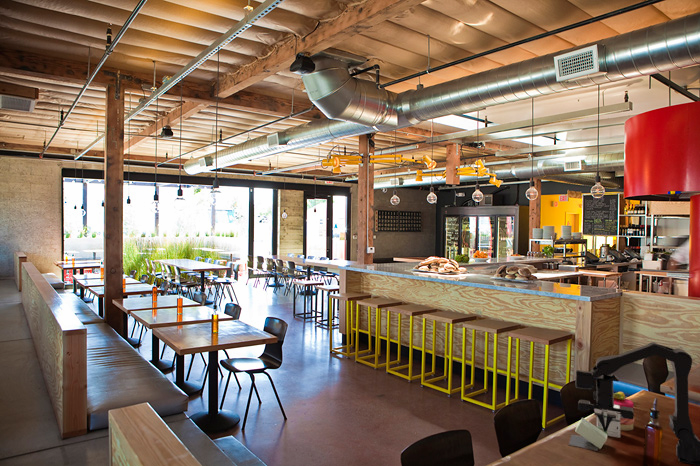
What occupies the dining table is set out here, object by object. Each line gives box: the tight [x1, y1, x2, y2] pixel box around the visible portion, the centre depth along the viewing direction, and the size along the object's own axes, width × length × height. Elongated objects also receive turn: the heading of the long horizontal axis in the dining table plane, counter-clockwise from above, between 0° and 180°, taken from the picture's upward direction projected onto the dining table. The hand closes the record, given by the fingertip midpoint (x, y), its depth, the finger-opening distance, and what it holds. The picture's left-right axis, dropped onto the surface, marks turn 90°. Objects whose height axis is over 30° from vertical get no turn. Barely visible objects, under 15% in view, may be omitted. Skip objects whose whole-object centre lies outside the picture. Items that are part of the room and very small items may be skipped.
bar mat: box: [568, 434, 599, 452], centre depth 181 cm, size 10×11×1 cm
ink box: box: [596, 405, 621, 438], centre depth 190 cm, size 9×5×12 cm, turn 61°
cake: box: [613, 391, 635, 431], centre depth 198 cm, size 10×11×15 cm
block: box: [574, 417, 608, 450], centre depth 180 cm, size 4×6×10 cm
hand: (605, 431), depth 177 cm, fingers closed
